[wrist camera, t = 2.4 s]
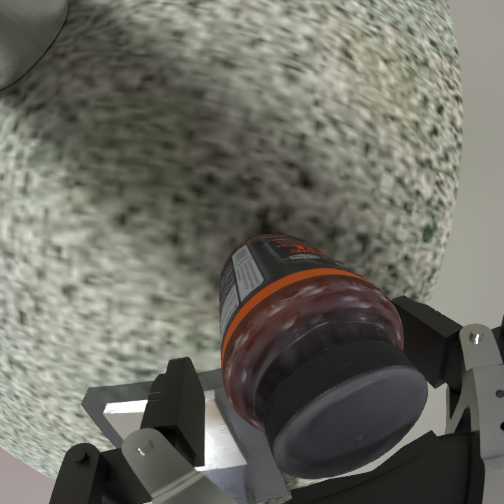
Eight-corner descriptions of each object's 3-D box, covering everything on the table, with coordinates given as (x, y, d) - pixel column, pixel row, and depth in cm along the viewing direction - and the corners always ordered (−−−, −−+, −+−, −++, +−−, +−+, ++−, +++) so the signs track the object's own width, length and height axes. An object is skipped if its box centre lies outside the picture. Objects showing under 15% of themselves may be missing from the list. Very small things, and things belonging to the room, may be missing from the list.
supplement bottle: (334, 253, 16) (488, 345, 5) (293, 338, 17) (372, 486, 6) (241, 214, 14) (319, 285, 4) (203, 310, 15) (195, 492, 4)
